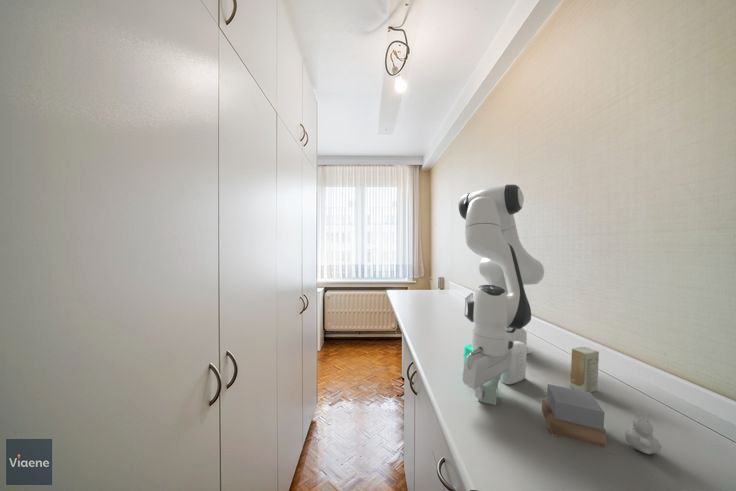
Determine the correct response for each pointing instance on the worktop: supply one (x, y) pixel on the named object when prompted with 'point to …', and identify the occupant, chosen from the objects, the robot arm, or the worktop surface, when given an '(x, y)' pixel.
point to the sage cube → (489, 392)
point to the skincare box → (584, 369)
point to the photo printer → (516, 364)
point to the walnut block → (572, 428)
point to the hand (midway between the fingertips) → (486, 393)
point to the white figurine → (642, 436)
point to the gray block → (575, 406)
